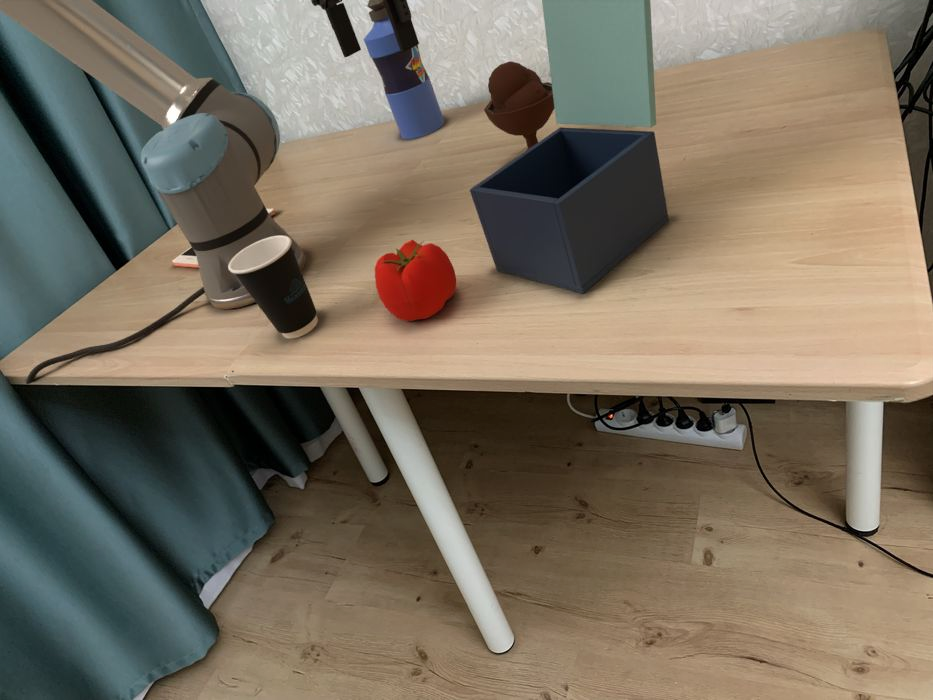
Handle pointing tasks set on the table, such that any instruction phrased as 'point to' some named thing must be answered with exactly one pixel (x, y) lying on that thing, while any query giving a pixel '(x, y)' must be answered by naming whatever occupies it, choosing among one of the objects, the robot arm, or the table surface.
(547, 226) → the chest
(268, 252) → the dixie cup
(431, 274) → the tomato
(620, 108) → the chest lid
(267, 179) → the table surface
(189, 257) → the cell phone
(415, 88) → the water bottle
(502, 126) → the ice cream bowl
